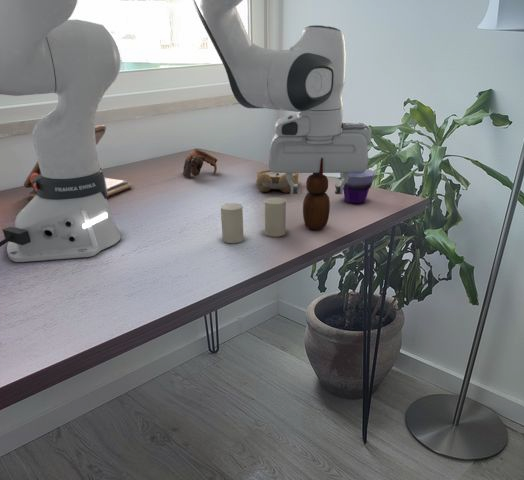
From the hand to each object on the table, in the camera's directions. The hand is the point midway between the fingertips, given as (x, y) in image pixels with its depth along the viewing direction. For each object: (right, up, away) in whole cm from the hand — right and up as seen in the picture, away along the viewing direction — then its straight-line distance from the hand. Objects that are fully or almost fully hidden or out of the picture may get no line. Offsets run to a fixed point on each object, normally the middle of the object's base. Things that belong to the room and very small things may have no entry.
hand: (316, 193), depth 107 cm
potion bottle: (+12, +4, +19) cm, 23 cm away
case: (-60, +9, +29) cm, 67 cm away
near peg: (-18, -10, -1) cm, 20 cm away
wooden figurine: (0, -6, +4) cm, 8 cm away
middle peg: (-9, -8, +1) cm, 12 cm away
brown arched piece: (-30, +18, +41) cm, 54 cm away
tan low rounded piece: (-8, +10, +29) cm, 32 cm away
